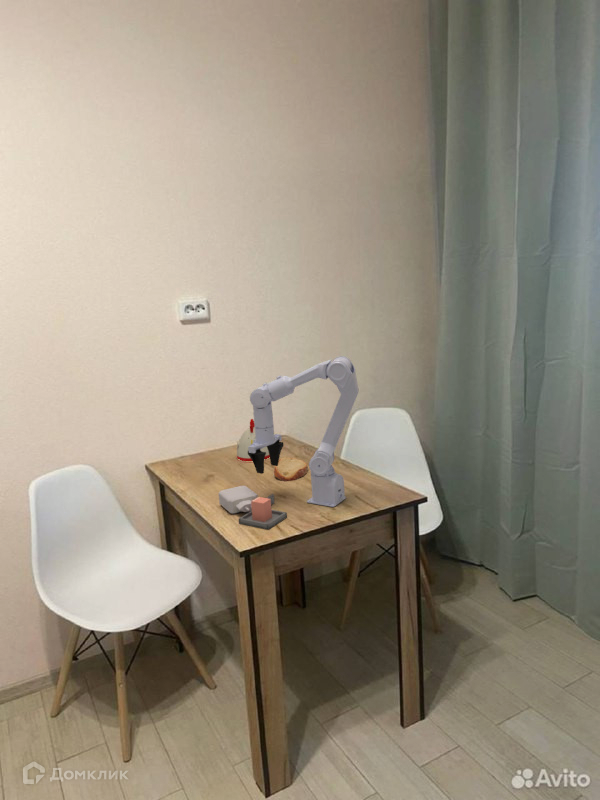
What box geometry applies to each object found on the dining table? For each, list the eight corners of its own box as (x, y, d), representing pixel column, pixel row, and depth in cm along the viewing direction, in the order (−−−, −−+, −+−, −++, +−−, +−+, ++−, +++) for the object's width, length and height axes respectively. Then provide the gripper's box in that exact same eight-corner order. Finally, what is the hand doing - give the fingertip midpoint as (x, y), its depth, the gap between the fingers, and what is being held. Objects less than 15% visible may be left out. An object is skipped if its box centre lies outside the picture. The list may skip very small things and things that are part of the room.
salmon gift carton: (272, 517, 166) (270, 498, 164) (264, 521, 163) (263, 503, 161) (260, 514, 168) (258, 496, 167) (252, 519, 165) (251, 501, 164)
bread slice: (289, 460, 219) (288, 451, 219) (324, 469, 207) (323, 459, 206) (253, 474, 207) (252, 464, 206) (288, 484, 195) (287, 473, 194)
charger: (237, 521, 165) (219, 505, 179) (267, 513, 170) (247, 498, 183) (235, 505, 165) (218, 491, 178) (265, 498, 169) (246, 484, 182)
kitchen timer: (234, 463, 220) (231, 425, 217) (239, 452, 234) (236, 416, 231) (271, 461, 219) (268, 422, 216) (274, 450, 233) (271, 414, 230)
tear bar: (274, 503, 177) (273, 494, 177) (262, 510, 172) (262, 500, 172) (271, 502, 178) (270, 493, 177) (259, 509, 173) (258, 500, 173)
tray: (287, 517, 166) (286, 512, 166) (268, 529, 159) (268, 524, 158) (258, 511, 172) (257, 507, 171) (239, 523, 164) (238, 518, 164)
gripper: (267, 419, 184) (270, 460, 187) (238, 431, 172) (242, 474, 175) (285, 421, 180) (288, 463, 183) (257, 433, 168) (261, 477, 171)
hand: (267, 469), depth 179 cm, fingers open, 7 cm apart
